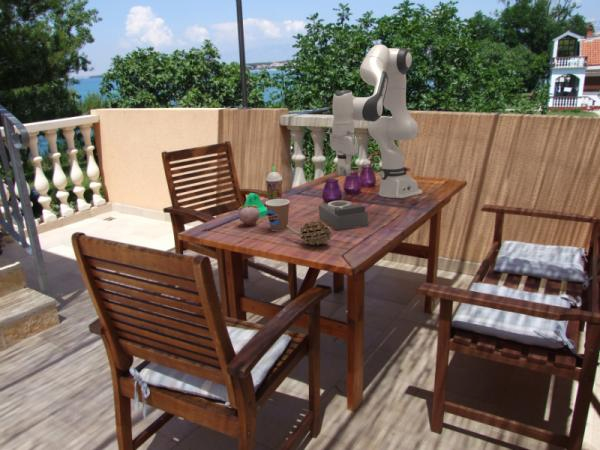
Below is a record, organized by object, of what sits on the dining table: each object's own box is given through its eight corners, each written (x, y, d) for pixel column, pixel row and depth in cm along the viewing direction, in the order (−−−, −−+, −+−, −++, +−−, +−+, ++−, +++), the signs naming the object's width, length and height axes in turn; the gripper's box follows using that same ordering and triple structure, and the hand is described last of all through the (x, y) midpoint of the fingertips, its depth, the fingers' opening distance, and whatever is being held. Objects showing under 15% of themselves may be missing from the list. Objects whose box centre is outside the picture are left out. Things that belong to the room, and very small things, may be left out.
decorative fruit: (256, 221, 235) (255, 199, 232) (262, 225, 228) (260, 203, 225) (236, 224, 232) (234, 202, 229) (241, 229, 225) (239, 206, 222)
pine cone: (338, 243, 201) (337, 219, 198) (325, 251, 193) (324, 226, 190) (291, 235, 213) (289, 212, 210) (277, 243, 205) (275, 219, 202)
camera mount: (251, 219, 238) (250, 198, 235) (242, 216, 243) (240, 195, 240) (272, 214, 245) (271, 193, 242) (263, 211, 251) (261, 190, 248)
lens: (347, 172, 227) (347, 149, 224) (353, 175, 222) (353, 151, 219) (335, 174, 225) (335, 151, 222) (341, 176, 220) (340, 152, 217)
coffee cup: (262, 229, 222) (260, 202, 219) (280, 223, 229) (278, 197, 226) (278, 234, 215) (276, 206, 212) (296, 228, 222) (294, 201, 218)
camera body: (347, 213, 239) (347, 194, 236) (367, 225, 221) (367, 204, 218) (319, 218, 234) (318, 198, 231) (337, 230, 216) (336, 209, 213)
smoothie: (265, 208, 255) (262, 168, 249) (270, 203, 263) (267, 164, 257) (281, 208, 253) (279, 168, 247) (286, 203, 261) (283, 164, 255)
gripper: (361, 132, 209) (362, 166, 213) (340, 127, 228) (340, 158, 232) (347, 133, 207) (348, 167, 211) (327, 128, 226) (327, 160, 230)
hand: (344, 163), depth 222 cm, fingers closed on lens, 5 cm apart
